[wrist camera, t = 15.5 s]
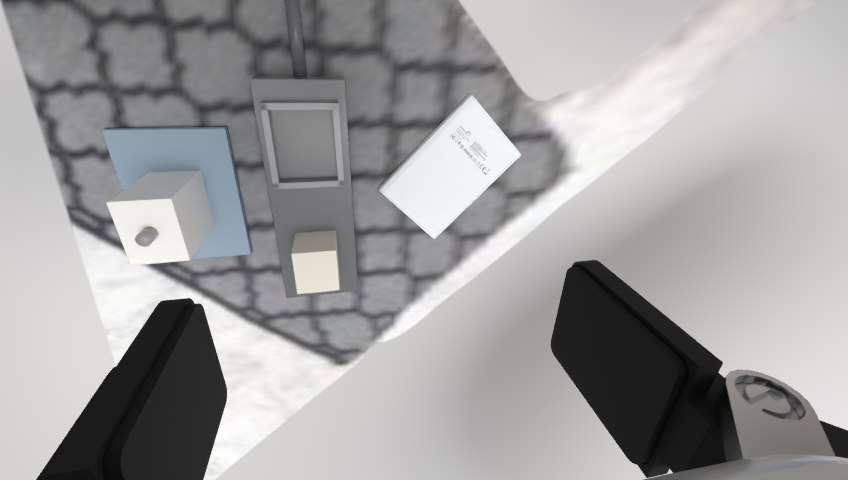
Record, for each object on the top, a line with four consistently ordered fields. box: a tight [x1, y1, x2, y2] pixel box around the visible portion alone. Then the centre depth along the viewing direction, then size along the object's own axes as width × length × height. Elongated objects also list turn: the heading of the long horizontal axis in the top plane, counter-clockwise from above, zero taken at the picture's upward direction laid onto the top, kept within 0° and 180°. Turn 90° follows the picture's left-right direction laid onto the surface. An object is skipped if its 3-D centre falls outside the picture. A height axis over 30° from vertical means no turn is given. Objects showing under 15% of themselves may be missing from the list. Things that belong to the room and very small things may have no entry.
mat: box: [102, 127, 252, 259], centre depth 34 cm, size 12×9×1 cm
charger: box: [106, 170, 215, 265], centre depth 30 cm, size 5×4×8 cm
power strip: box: [250, 0, 358, 298], centre depth 32 cm, size 26×7×7 cm, turn 179°
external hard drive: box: [378, 94, 521, 239], centre depth 38 cm, size 2×8×12 cm
